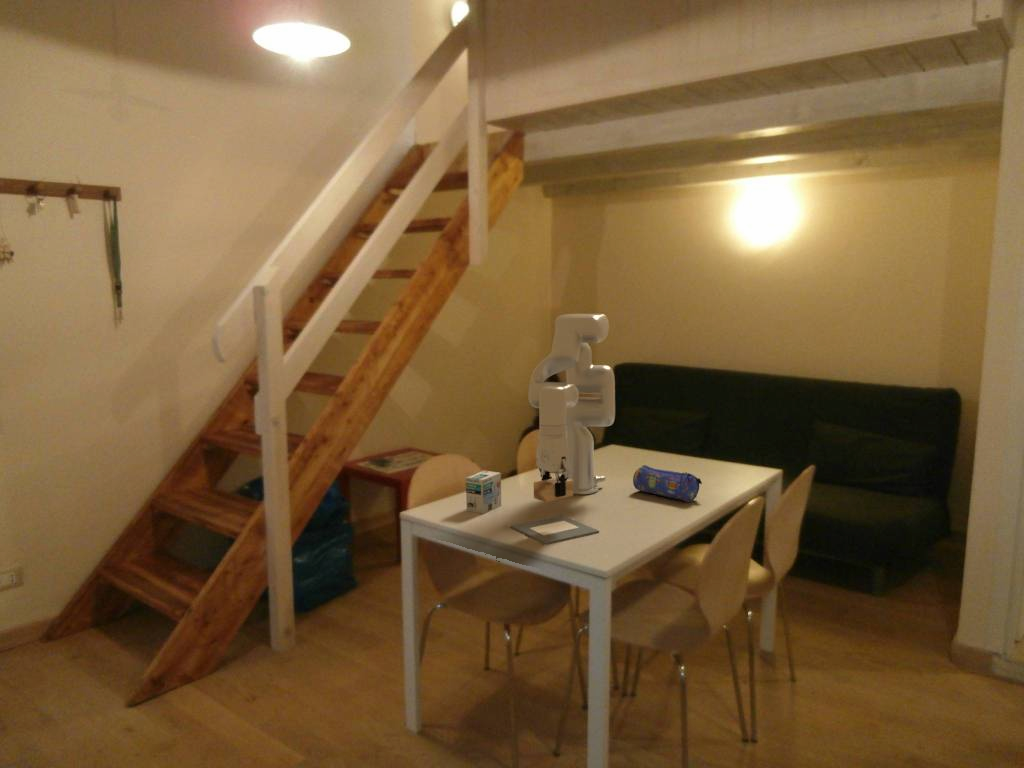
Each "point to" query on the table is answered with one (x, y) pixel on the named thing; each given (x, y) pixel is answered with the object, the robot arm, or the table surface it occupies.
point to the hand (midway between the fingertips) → (553, 492)
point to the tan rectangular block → (550, 490)
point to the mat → (554, 529)
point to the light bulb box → (483, 491)
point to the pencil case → (667, 483)
